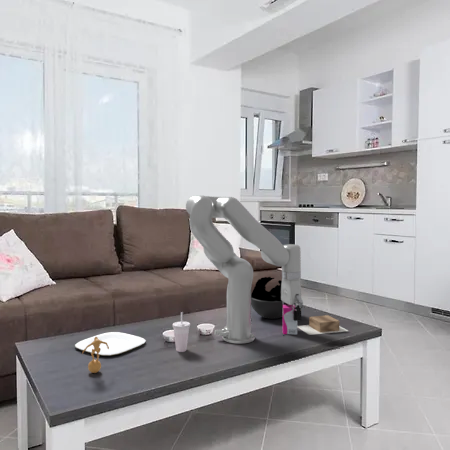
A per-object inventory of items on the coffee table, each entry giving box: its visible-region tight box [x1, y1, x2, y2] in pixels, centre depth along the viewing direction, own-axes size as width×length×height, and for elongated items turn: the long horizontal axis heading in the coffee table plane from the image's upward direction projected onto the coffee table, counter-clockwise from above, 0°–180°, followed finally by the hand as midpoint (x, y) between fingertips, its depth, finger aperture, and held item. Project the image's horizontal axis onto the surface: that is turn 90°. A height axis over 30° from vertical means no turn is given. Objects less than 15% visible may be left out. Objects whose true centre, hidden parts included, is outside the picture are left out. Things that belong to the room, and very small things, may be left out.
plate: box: [74, 331, 147, 357], centre depth 163 cm, size 22×22×2 cm
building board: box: [297, 324, 349, 336], centre depth 184 cm, size 18×12×1 cm, turn 108°
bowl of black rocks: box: [251, 276, 293, 320], centre depth 201 cm, size 20×20×19 cm
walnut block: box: [308, 314, 341, 332], centre depth 184 cm, size 9×9×4 cm
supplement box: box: [282, 305, 298, 337], centre depth 178 cm, size 6×6×12 cm
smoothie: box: [172, 311, 191, 353], centre depth 159 cm, size 6×6×14 cm
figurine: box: [82, 337, 109, 374], centre depth 137 cm, size 8×6×12 cm
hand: (291, 316), depth 179 cm, fingers open, 9 cm apart
